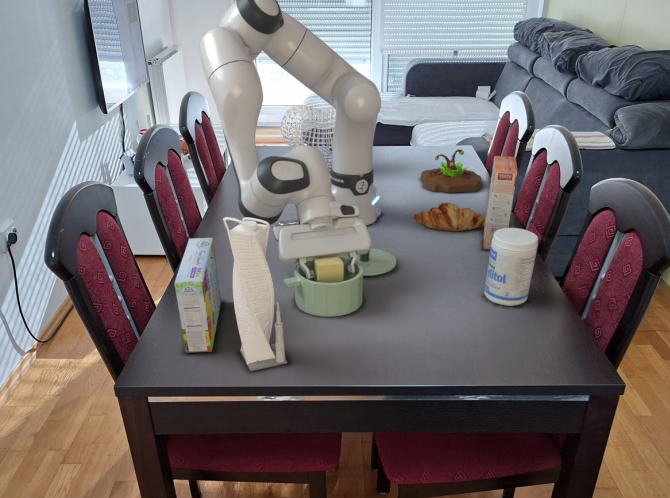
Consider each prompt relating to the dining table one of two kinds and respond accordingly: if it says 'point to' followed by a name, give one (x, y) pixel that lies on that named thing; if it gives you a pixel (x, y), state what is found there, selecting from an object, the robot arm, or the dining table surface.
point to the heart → (314, 111)
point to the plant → (451, 177)
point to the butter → (328, 269)
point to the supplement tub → (510, 266)
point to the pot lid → (377, 261)
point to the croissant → (450, 218)
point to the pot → (329, 291)
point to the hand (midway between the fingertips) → (331, 276)
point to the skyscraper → (254, 295)
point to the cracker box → (500, 197)
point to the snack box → (198, 295)
